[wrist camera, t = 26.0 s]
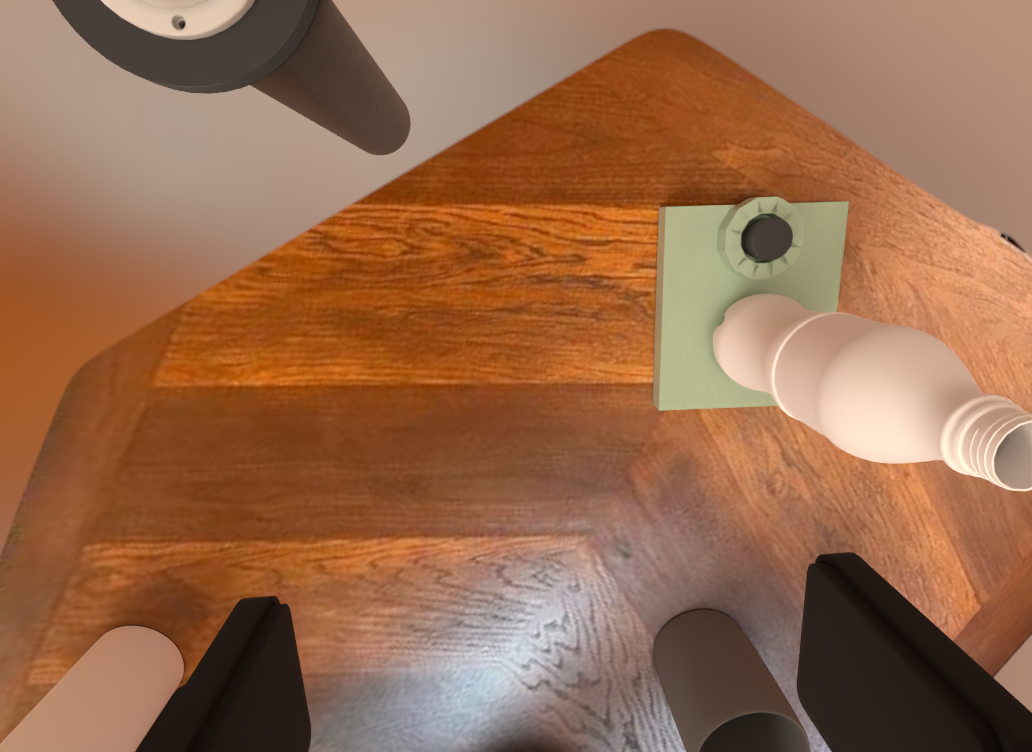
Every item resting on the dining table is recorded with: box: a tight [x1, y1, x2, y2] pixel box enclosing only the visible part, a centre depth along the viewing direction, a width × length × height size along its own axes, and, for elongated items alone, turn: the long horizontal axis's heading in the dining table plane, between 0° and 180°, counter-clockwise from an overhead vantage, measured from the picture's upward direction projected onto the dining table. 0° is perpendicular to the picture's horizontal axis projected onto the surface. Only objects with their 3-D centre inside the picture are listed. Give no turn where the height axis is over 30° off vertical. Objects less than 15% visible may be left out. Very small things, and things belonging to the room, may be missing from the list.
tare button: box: [744, 217, 793, 260], centre depth 43 cm, size 3×3×2 cm
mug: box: [654, 609, 811, 752], centre depth 51 cm, size 14×9×12 cm
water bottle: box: [713, 294, 1032, 491], centre depth 34 cm, size 7×7×25 cm
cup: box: [0, 626, 184, 752], centre depth 46 cm, size 8×8×16 cm
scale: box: [653, 196, 849, 411], centre depth 46 cm, size 16×14×4 cm
